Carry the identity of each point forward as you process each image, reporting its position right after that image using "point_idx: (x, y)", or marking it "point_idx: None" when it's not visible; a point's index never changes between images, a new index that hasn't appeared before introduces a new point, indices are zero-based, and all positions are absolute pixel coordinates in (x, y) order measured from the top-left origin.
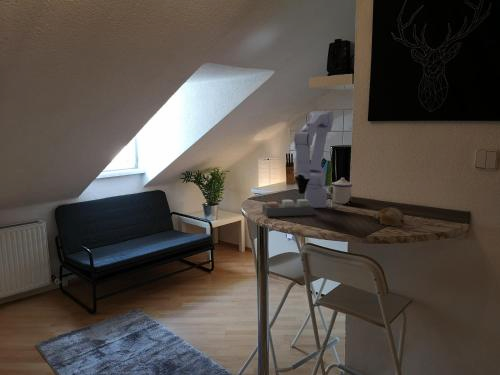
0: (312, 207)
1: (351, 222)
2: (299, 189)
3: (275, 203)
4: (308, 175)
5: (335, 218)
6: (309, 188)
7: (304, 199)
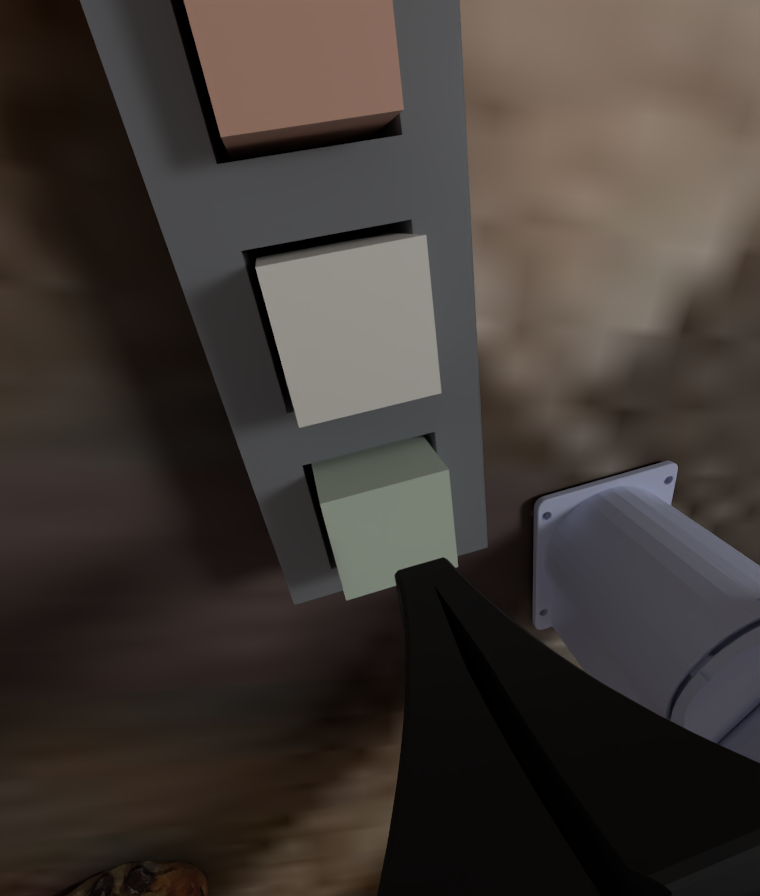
0: (289, 588)
1: (76, 773)
2: (407, 621)
3: (216, 61)
4: None
5: (185, 687)
6: (702, 650)
7: (435, 553)
